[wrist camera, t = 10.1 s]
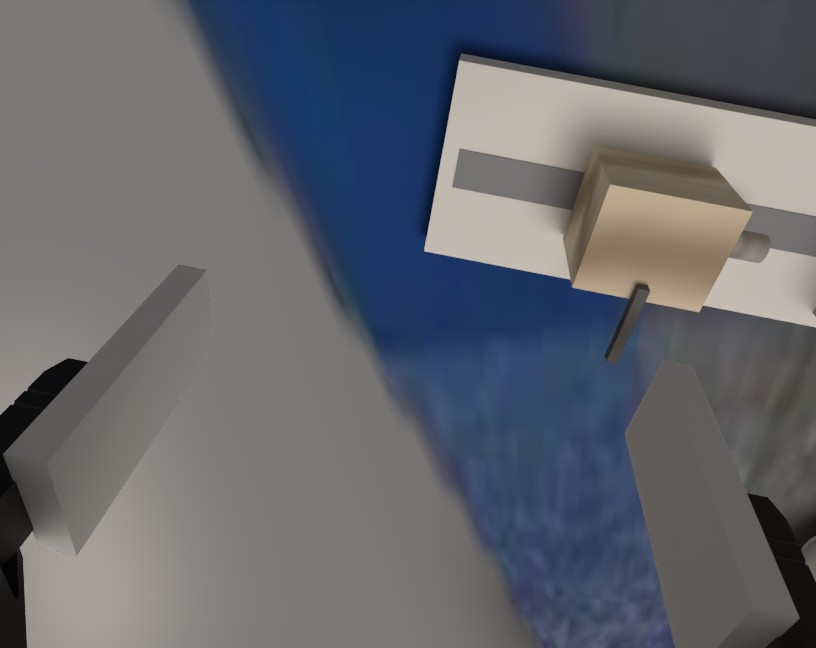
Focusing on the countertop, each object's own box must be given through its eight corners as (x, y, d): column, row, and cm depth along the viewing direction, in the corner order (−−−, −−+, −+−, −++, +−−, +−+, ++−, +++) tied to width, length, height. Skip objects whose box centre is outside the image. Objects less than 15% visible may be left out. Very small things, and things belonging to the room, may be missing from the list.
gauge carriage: (594, 144, 33) (611, 189, 28) (768, 177, 33) (820, 228, 28) (544, 290, 39) (551, 350, 34) (693, 319, 39) (723, 384, 34)
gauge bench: (461, 53, 34) (448, 97, 26) (983, 150, 33) (1139, 227, 25) (427, 237, 41) (408, 318, 33) (857, 320, 40) (947, 424, 32)
